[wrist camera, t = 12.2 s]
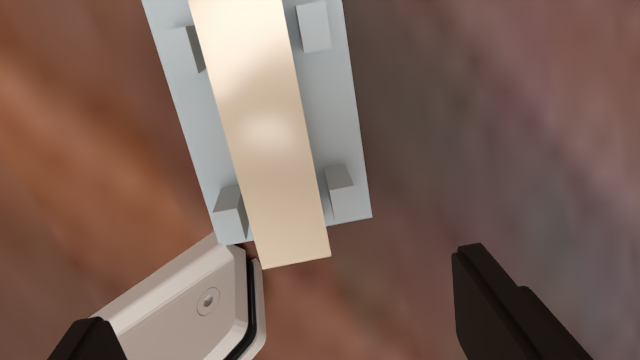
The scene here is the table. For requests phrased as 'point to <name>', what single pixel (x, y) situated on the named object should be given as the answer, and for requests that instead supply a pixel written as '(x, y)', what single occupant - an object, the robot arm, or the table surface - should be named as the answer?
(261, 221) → the clay bar
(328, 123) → the rack
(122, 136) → the table surface
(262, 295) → the white router
